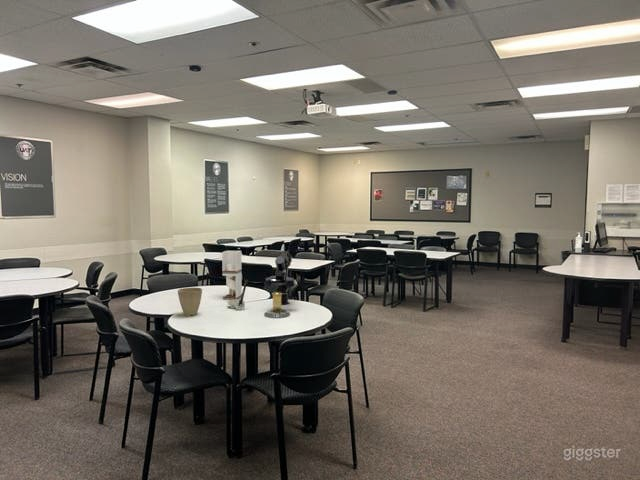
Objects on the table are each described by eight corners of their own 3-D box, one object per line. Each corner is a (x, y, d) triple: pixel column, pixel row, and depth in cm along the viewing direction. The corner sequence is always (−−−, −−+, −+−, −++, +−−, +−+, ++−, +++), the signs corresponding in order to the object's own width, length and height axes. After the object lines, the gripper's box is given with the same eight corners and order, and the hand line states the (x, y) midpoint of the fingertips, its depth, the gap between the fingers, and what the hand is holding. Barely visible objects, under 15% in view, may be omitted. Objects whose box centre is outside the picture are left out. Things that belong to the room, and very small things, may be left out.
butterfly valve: (224, 306, 307) (233, 308, 292) (231, 277, 310) (241, 278, 295) (235, 308, 311) (245, 311, 296) (243, 280, 314) (253, 281, 300)
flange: (266, 311, 291) (266, 308, 291) (291, 312, 290) (291, 308, 290) (262, 317, 275) (262, 313, 275) (288, 318, 274) (288, 314, 274)
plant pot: (181, 312, 290) (180, 287, 289) (204, 311, 291) (204, 287, 290) (175, 317, 275) (174, 291, 274) (200, 317, 276) (199, 291, 275)
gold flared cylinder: (274, 312, 286) (274, 291, 285) (283, 312, 285) (283, 292, 284) (270, 314, 280) (270, 293, 280) (280, 314, 279) (280, 294, 278)
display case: (228, 296, 340) (227, 250, 338) (241, 297, 339) (241, 250, 336) (222, 299, 329) (222, 252, 327) (236, 300, 328) (236, 252, 325)
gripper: (265, 265, 294) (262, 285, 284) (293, 265, 293) (292, 285, 283) (267, 275, 302) (264, 295, 292) (295, 275, 302) (293, 295, 291)
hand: (278, 292), depth 290 cm, fingers open, 9 cm apart
